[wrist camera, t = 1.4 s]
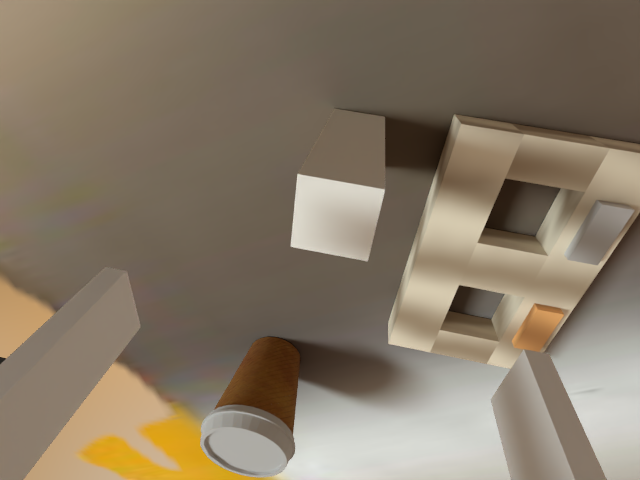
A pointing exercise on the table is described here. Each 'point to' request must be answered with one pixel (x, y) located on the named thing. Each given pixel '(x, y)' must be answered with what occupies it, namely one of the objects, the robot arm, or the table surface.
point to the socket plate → (512, 238)
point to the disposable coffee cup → (256, 412)
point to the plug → (341, 187)
